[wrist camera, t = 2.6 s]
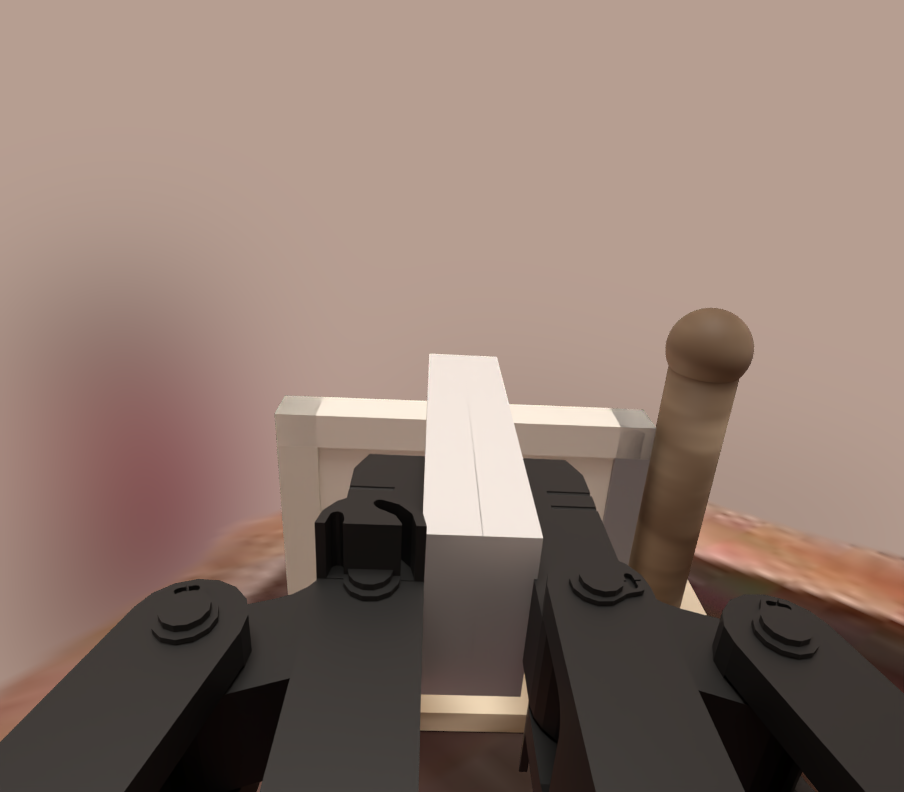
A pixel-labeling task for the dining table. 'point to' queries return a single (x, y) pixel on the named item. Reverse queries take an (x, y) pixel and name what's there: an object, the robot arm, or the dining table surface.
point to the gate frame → (653, 491)
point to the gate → (403, 433)
